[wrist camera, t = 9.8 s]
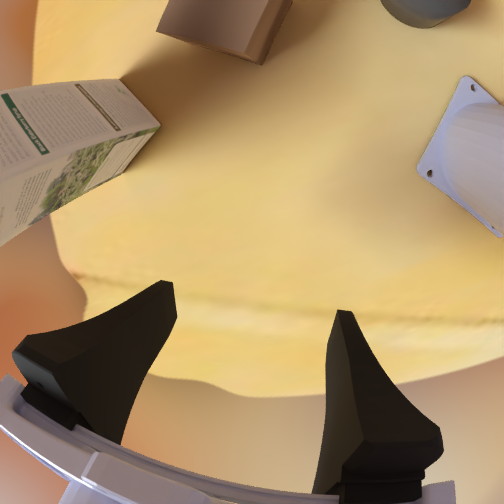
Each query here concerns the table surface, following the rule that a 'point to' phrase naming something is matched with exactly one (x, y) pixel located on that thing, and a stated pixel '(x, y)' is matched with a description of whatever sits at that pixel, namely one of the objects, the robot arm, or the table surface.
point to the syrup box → (64, 145)
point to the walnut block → (226, 25)
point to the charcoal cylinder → (424, 11)
